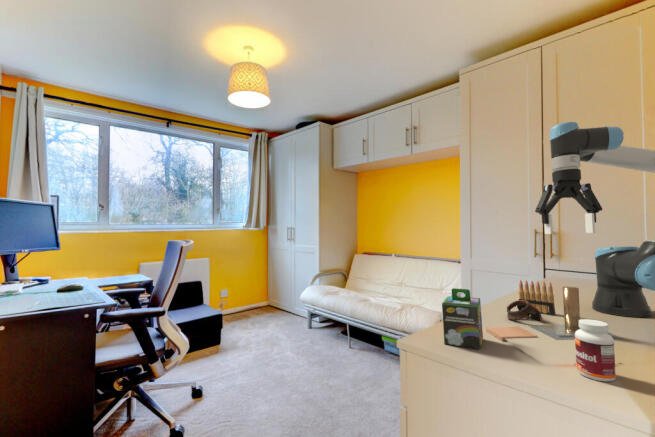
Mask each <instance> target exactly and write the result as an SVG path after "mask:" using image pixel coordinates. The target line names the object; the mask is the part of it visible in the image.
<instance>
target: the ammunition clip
mask: <svg viewBox="0 0 655 437" xmlns="http://www.w3.org/2000/svg"><path fill="white" fill-rule="evenodd" d="M547 289H548V291H547ZM553 290H554V288H553V284H552V282H548V286H547V285H546V283H545V281H542V284H541V286H540V282H539V280H537V281H536V285H535V284H534V281H533V280H531V281H530V284H529V282H528V280H525V281H524V285H523V281H522V279H519V282H518V300H526V301H528V302H529V304H532V305H534V306H535V307H536V308H537V309H538V311H539V312H540V314H541V315H547V316H552V317H556V308H555V295H554V291H553Z"/></svg>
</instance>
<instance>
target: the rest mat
mask: <svg viewBox="0 0 655 437" xmlns="http://www.w3.org/2000/svg"><path fill="white" fill-rule="evenodd" d="M542 325H543V324H542ZM542 325H540V324H539V325H537V324H535V325H528V327H530V328H531V329H534V330H535V331H537V332H540V333H542V334H544V335H546V336H548V337H549V338H552V339H554V340H556V341H566V340H567V341H568V340H569V341H570V340H571V341H572V340H573V341H575V337H558V336H556V335H554V334H551V333H549V332H547V331H545V330H543V329H541V328H539V326H542ZM607 333H609V334H610V336H612V338H613V340H616V339H617V340H622V339H623V340H625V339H626V338H624V337H622V336H619V335H617V334H614V333H610V332H609V331H608V332H607Z"/></svg>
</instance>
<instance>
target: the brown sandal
mask: <svg viewBox="0 0 655 437" xmlns="http://www.w3.org/2000/svg"><path fill="white" fill-rule="evenodd" d="M515 307H516V308H517V309H518V310H516V311H514V310H512V309H514V308H515ZM506 309H507V310H506V314H507V315H506V316H507V320H513V321H514V320H515V321H517V320H521V319H526V320H529V317H531V319H534V320H538V321H540V322H541V323H542V324H543V323H544V318H543V316H542V314H540V312H539V311H538V309H537V308H536V307H535V306H534V305H532V304H529V302H528V301H526V300H519V299H518V300H515V301H513V302H511V303H509V304H508V305H507V306H506ZM511 310H512V311H511Z"/></svg>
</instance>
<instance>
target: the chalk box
mask: <svg viewBox="0 0 655 437" xmlns="http://www.w3.org/2000/svg"><path fill="white" fill-rule="evenodd" d="M458 293H463V295H464V296H459V295H458ZM441 311H442V312H441V314H442V324H443V325H442V327H443V328H442V330H443V342H444V345H449V346H456V347H461V348H467V349H474V350H477V351H479V350H482V344H483V340H484V335H483V334H484V332H483V319H482V318H483V317H482V316H483V315H482V303H481V297H471V291H470V289H468V288H452V289H451V296H450V295H449V296H446V298H444V300H443V301H442V303H441Z"/></svg>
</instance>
